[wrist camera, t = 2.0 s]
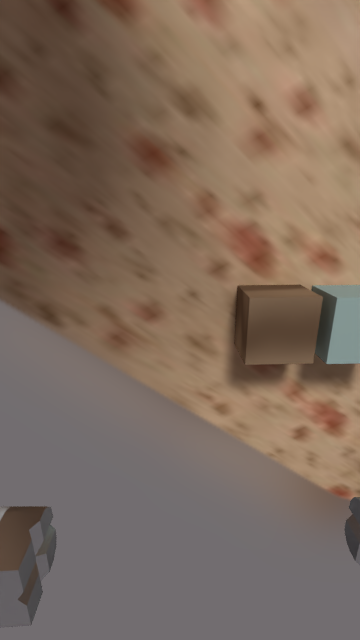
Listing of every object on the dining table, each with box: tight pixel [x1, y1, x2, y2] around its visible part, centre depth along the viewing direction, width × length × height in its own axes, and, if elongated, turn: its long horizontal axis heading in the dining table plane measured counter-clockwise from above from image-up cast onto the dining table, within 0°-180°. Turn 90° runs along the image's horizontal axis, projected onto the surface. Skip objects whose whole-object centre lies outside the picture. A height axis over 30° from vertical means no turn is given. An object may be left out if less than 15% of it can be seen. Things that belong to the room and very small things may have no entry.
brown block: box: [234, 285, 323, 365], centre depth 24 cm, size 5×5×4 cm
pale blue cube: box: [312, 285, 360, 364], centre depth 24 cm, size 5×5×4 cm
